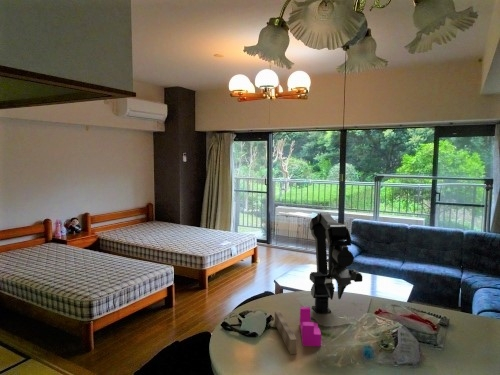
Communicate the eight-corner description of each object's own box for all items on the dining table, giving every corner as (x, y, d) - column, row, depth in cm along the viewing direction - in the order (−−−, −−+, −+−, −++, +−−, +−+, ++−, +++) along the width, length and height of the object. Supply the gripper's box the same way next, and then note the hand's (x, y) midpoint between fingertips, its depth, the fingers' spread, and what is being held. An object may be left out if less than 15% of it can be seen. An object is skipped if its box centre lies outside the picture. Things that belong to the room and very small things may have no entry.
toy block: (320, 346, 118) (321, 326, 117) (302, 346, 118) (303, 325, 117) (315, 325, 132) (316, 307, 132) (299, 325, 133) (300, 306, 132)
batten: (274, 322, 134) (274, 310, 134) (279, 322, 135) (279, 310, 134) (290, 354, 113) (290, 339, 112) (296, 353, 113) (296, 339, 113)
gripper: (320, 266, 115) (319, 310, 116) (370, 263, 118) (369, 306, 120) (309, 257, 126) (308, 297, 127) (355, 254, 129) (354, 294, 131)
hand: (335, 299), depth 126 cm, fingers open, 3 cm apart
